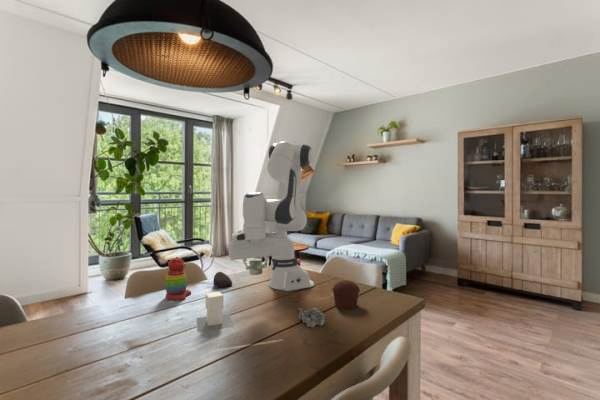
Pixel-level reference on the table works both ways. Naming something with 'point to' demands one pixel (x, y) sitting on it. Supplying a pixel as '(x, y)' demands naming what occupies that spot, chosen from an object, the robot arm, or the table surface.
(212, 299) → the tower top
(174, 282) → the stacking bear
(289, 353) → the table surface
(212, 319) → the tower bottom
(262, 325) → the table surface
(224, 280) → the stone
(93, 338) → the table surface
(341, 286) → the muffin
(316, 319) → the grey jagged lump
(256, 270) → the drum
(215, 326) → the coaster
